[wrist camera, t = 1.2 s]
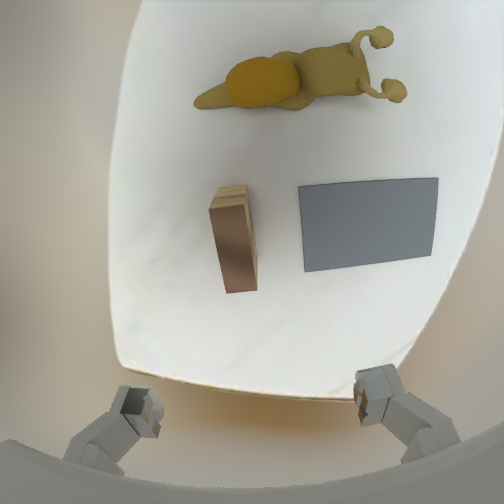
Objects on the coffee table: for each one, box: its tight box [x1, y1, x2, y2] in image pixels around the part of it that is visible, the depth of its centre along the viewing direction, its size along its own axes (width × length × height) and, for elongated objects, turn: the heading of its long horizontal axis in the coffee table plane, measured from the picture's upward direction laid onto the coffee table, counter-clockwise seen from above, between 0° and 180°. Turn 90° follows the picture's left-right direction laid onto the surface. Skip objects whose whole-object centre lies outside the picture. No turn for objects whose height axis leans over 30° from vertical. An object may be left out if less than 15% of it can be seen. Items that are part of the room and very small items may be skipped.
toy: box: [193, 26, 407, 110], centre depth 26 cm, size 8×21×10 cm, turn 104°
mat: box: [299, 178, 439, 272], centre depth 38 cm, size 12×20×1 cm, turn 98°
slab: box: [209, 185, 257, 294], centre depth 35 cm, size 10×4×8 cm, turn 8°
